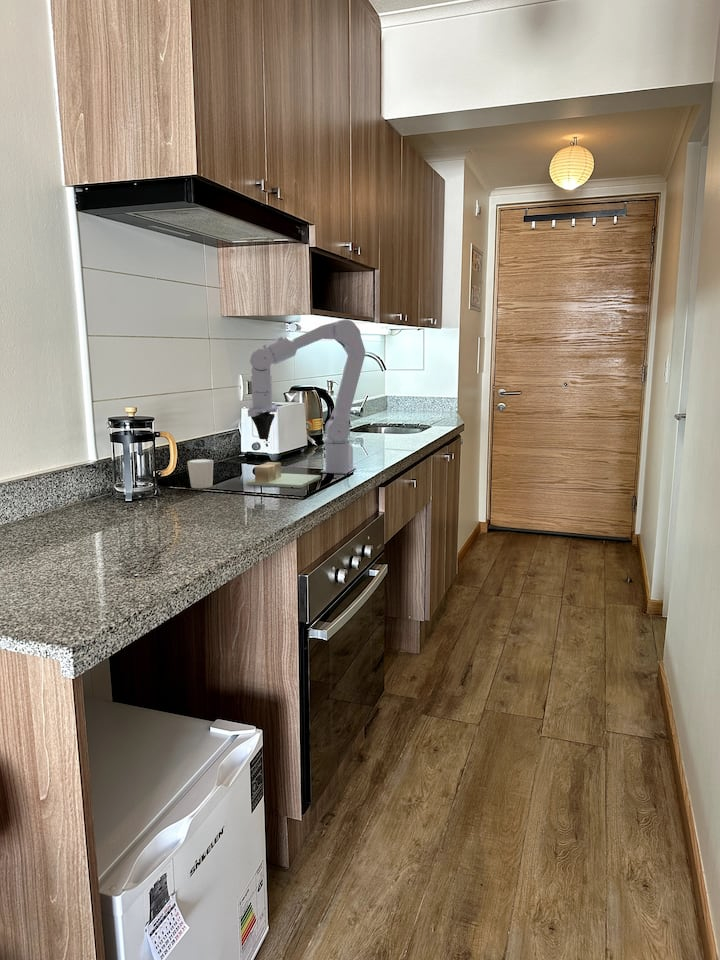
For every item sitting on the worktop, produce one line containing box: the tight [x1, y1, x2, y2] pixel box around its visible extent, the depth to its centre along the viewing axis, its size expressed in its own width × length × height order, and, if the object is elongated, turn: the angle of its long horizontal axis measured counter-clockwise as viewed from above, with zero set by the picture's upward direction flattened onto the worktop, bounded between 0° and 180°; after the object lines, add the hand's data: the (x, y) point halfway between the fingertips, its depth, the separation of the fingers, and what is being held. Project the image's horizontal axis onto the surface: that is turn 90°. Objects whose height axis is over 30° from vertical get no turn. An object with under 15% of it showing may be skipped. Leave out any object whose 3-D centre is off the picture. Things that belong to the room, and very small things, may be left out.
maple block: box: [254, 461, 282, 482], centre depth 186 cm, size 4×4×8 cm
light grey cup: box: [187, 458, 214, 489], centre depth 181 cm, size 7×7×7 cm
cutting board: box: [246, 472, 322, 489], centre depth 187 cm, size 14×16×1 cm
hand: (263, 439), depth 196 cm, fingers closed
